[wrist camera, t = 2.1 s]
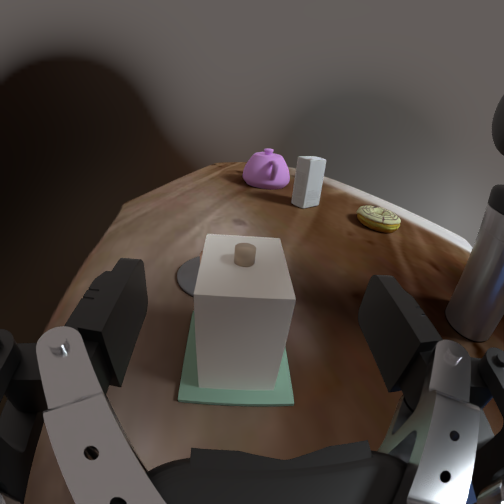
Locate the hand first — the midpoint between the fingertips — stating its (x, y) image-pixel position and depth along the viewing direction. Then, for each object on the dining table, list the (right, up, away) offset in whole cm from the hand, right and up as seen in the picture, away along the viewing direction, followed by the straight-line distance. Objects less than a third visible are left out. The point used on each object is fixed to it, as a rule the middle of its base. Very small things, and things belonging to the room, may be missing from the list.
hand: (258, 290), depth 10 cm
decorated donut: (+29, +7, +55) cm, 63 cm away
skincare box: (+13, +13, +61) cm, 63 cm away
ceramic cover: (-2, -9, +18) cm, 20 cm away
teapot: (+4, +22, +76) cm, 79 cm away
